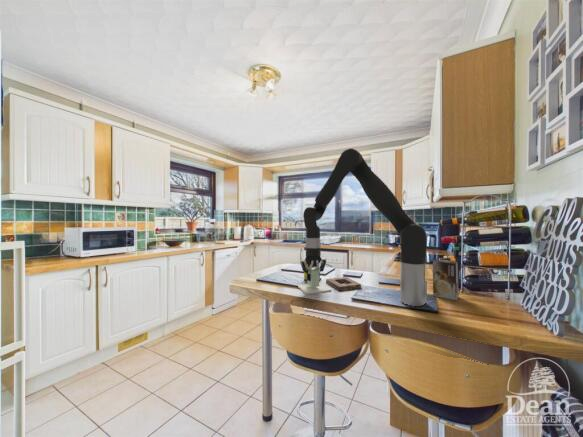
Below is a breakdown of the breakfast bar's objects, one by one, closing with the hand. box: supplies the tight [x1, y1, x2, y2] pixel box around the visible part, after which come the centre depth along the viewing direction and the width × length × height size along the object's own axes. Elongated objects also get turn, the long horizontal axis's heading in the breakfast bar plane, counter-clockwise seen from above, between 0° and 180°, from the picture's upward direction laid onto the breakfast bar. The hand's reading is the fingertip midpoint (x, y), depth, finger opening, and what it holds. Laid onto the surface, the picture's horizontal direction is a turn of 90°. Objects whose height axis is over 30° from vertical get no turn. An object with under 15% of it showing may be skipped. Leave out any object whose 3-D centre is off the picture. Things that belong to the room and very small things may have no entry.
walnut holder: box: [325, 276, 362, 292], centre depth 123 cm, size 12×14×2 cm
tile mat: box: [296, 281, 332, 295], centre depth 118 cm, size 13×13×1 cm
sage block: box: [306, 268, 320, 287], centre depth 118 cm, size 4×6×8 cm, turn 18°
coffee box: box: [432, 259, 459, 301], centre depth 105 cm, size 9×6×16 cm
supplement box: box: [303, 263, 315, 281], centre depth 133 cm, size 6×6×11 cm
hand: (313, 280), depth 118 cm, fingers closed on sage block, 4 cm apart
